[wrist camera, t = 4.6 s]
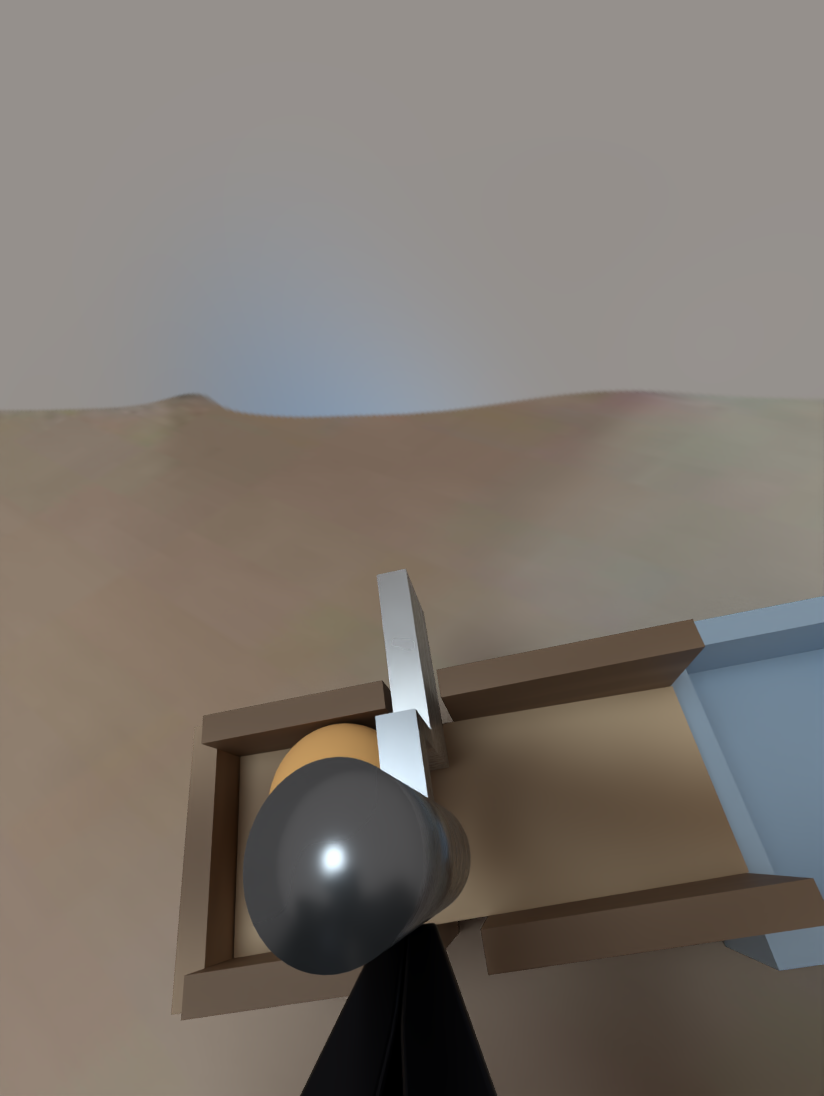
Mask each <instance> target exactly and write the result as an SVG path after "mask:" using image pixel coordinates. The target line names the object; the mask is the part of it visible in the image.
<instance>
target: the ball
mask: <svg viewBox="0 0 824 1096" xmlns="http://www.w3.org/2000/svg"><path fill="white" fill-rule="evenodd" d="M331 757H350V758H355V759H359V760H362V761H365V762H368V763H370V764H372V765H374V766H376V767H378V768H380V760H379V750H378V740H377V730H374V729H372V728H370V727H367V726H364V725H359V724H352V723H340V724H333V725H328V726H325V727H322V728H320V729H317V730H315V731H313V732H311V733H310V734H308V735H306V736H305V737H304V738H302V739H301V740H300V741H299V742H298V743H297V744H296V745H294V746H293V747H292V748H291V750H290V751H289V752H288V753H287V754H286V756H285V757H284V759H283V760H282V762H281V763H280V765H279V767H278V769H277V771H276V773H275V776H274V779H273V781H272V784H271V788H270V792H269V795H270V794H271V792H272V791H273V790H274V789H275V788H276V786H277V785H278V784H280V783H281V782H282V781H283V780H284V779H285V778H286V777H287V776H289V775H290V774H291V773H293V772H294V771H295V770H297V769H299V768H301V767H303V766H304V765H306V764H309V763H311V762H314V761H317V760H320V759H324V758H331Z"/></svg>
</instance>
